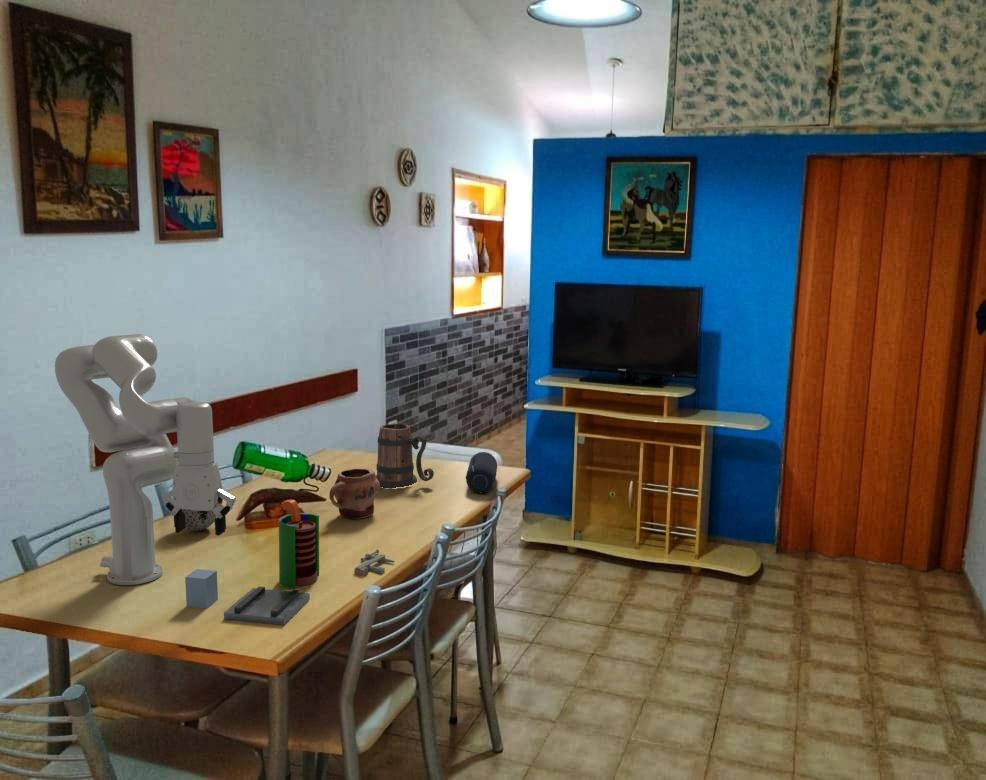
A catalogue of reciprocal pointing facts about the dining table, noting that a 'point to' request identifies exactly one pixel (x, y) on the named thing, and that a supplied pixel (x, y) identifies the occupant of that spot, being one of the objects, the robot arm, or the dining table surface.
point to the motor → (298, 547)
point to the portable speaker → (481, 472)
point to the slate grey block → (201, 588)
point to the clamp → (364, 567)
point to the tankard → (399, 457)
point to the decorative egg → (198, 519)
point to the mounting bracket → (267, 606)
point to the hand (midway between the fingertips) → (200, 532)
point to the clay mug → (355, 493)
